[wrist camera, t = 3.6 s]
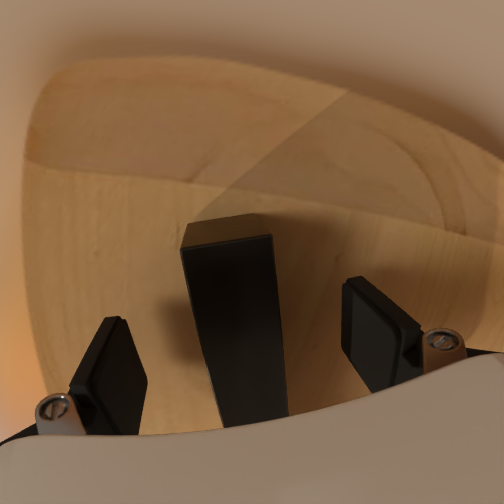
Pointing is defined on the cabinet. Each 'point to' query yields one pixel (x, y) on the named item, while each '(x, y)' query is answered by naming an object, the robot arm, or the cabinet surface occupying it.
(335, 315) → the cabinet surface
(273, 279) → the cake knife
